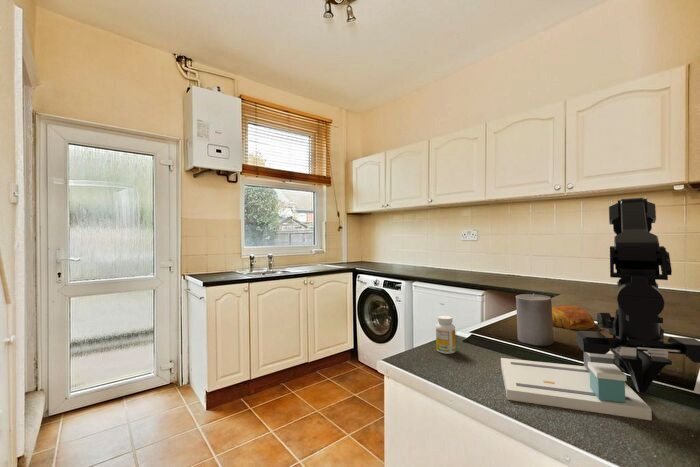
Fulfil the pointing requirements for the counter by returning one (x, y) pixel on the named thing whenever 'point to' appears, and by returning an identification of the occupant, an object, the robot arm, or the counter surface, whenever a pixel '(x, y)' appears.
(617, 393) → the teal knob
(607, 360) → the grey and white slider
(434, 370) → the counter surface
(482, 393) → the counter surface
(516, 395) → the slotted slider plate
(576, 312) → the croissant
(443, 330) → the supplement bottle
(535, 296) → the pillar candle
